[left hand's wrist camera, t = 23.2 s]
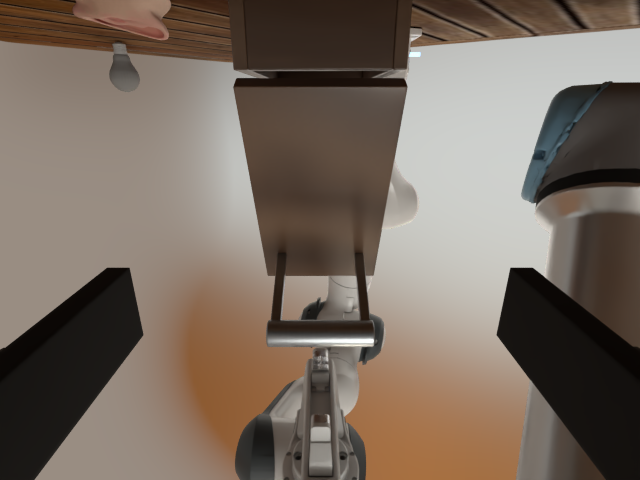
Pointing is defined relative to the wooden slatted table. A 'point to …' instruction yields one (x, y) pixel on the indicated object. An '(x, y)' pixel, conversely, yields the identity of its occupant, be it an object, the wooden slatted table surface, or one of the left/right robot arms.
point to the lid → (320, 187)
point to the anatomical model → (127, 15)
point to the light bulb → (123, 70)
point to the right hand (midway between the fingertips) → (320, 382)
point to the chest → (320, 38)
